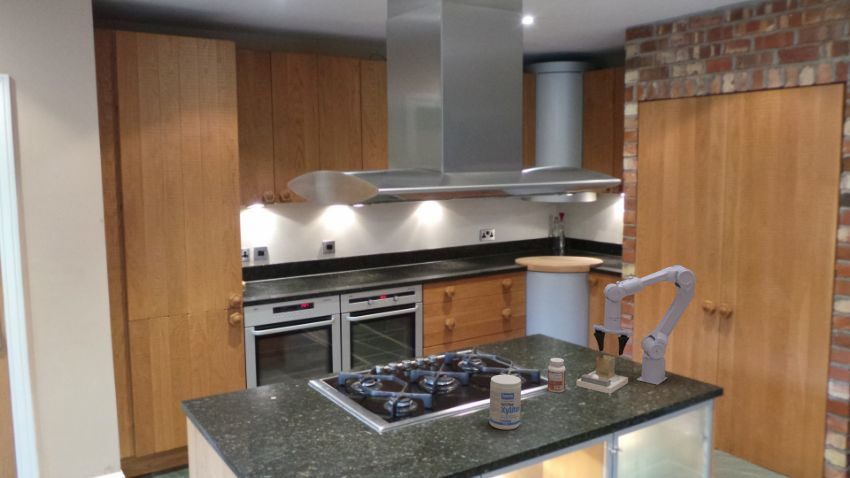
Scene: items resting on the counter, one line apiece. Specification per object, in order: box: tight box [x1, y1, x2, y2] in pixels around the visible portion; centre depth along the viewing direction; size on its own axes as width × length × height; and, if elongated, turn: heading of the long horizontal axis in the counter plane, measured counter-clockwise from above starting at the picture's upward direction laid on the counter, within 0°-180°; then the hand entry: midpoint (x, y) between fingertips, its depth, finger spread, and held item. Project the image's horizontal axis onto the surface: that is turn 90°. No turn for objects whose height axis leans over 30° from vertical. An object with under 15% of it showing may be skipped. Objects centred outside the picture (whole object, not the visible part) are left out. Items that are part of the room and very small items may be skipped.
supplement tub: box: [488, 374, 522, 431], centre depth 218 cm, size 10×10×15 cm
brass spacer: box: [595, 354, 616, 379], centre depth 256 cm, size 5×5×7 cm
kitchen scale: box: [576, 369, 629, 395], centre depth 255 cm, size 15×13×5 cm
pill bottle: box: [547, 357, 567, 393], centre depth 249 cm, size 6×6×11 cm
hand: (610, 352), depth 259 cm, fingers open, 7 cm apart
